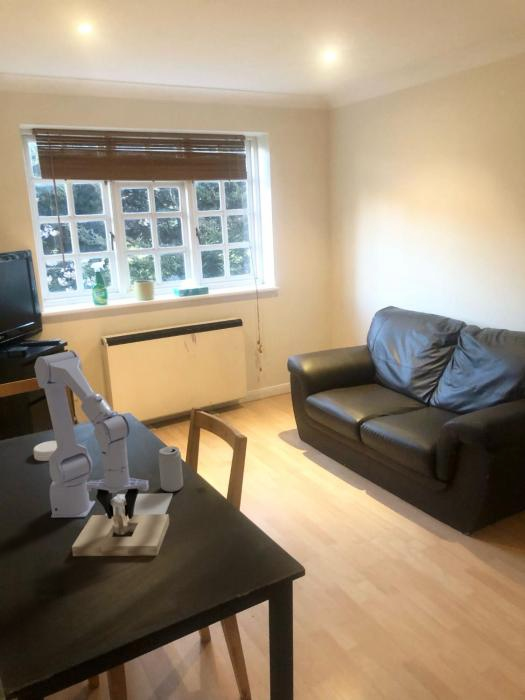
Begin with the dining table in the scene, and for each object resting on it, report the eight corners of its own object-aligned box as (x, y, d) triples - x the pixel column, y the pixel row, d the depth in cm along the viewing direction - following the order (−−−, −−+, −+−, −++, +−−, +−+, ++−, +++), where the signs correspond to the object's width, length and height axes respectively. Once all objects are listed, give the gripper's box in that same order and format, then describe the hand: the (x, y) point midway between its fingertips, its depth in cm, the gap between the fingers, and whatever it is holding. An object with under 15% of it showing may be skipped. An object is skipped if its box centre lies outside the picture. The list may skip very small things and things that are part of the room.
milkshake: (115, 539, 131) (113, 501, 129) (110, 529, 135) (107, 492, 133) (134, 534, 133) (132, 497, 131) (128, 524, 138) (126, 487, 135)
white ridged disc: (33, 453, 189) (32, 443, 188) (63, 447, 193) (62, 438, 192) (35, 464, 180) (33, 454, 179) (67, 457, 184) (65, 448, 183)
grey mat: (104, 517, 145) (104, 516, 145) (117, 495, 157) (117, 494, 156) (164, 516, 144) (164, 515, 144) (173, 494, 156) (172, 493, 156)
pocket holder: (73, 556, 128) (71, 546, 128) (93, 523, 142) (92, 515, 141) (157, 555, 128) (156, 545, 127) (169, 522, 141) (168, 514, 141)
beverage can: (178, 494, 156) (175, 455, 153) (157, 492, 157) (154, 453, 155) (186, 483, 162) (183, 445, 159) (165, 482, 163) (162, 444, 161)
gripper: (79, 473, 127) (86, 525, 130) (141, 472, 126) (146, 525, 129) (90, 460, 134) (95, 510, 137) (148, 459, 133) (153, 509, 136)
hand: (121, 516), depth 133 cm, fingers closed on milkshake, 4 cm apart
